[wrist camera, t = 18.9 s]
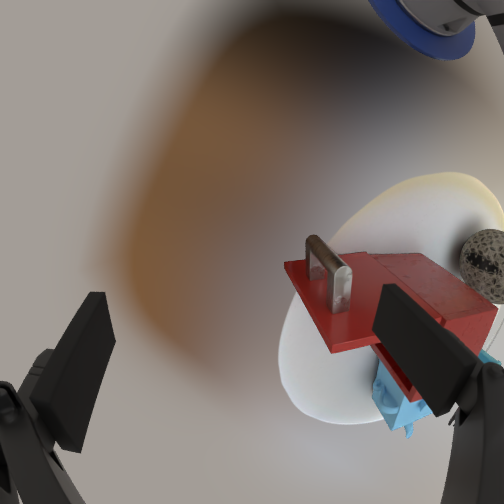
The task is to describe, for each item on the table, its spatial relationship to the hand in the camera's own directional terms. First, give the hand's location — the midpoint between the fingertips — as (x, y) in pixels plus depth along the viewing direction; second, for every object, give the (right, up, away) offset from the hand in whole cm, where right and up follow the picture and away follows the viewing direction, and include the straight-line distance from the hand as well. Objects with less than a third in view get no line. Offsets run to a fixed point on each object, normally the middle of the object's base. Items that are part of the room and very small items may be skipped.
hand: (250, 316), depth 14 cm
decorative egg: (+39, +3, +31) cm, 50 cm away
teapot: (+28, -21, +39) cm, 53 cm away
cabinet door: (+10, +4, +26) cm, 29 cm away
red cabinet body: (+22, -3, +31) cm, 38 cm away
